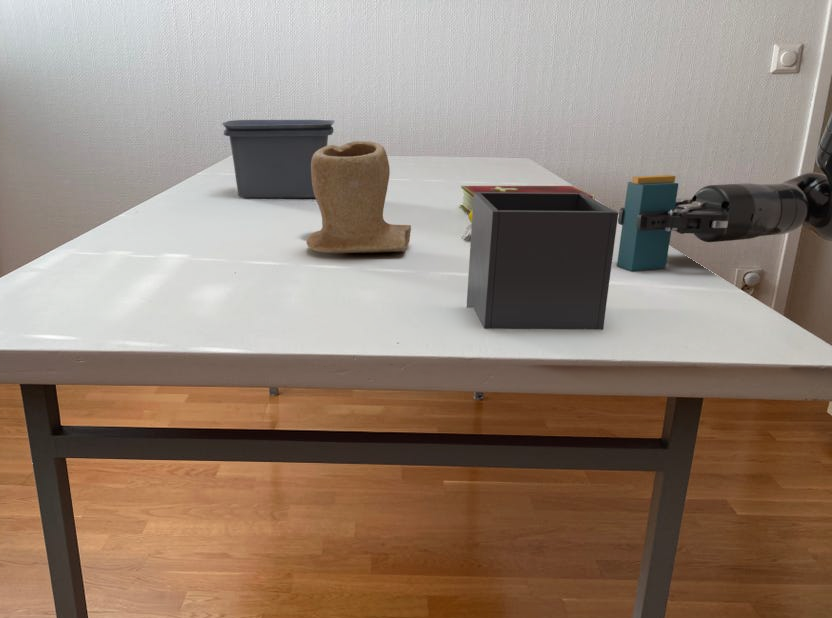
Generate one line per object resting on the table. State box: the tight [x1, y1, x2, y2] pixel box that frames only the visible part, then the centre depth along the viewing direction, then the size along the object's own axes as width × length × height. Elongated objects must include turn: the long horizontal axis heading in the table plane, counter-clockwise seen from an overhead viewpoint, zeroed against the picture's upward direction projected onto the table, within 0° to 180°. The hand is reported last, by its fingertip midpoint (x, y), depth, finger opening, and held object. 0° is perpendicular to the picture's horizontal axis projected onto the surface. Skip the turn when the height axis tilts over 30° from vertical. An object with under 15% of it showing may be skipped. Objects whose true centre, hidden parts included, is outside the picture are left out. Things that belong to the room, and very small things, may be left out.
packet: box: [616, 174, 679, 272], centre depth 101 cm, size 6×3×12 cm, turn 110°
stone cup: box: [305, 140, 412, 254], centre depth 106 cm, size 15×12×15 cm
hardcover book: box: [459, 185, 596, 216], centre depth 139 cm, size 12×21×4 cm, turn 94°
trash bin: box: [465, 192, 619, 331], centre depth 76 cm, size 11×11×13 cm
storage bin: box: [221, 119, 335, 199], centre depth 154 cm, size 21×16×14 cm
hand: (630, 219), depth 99 cm, fingers closed on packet, 3 cm apart
